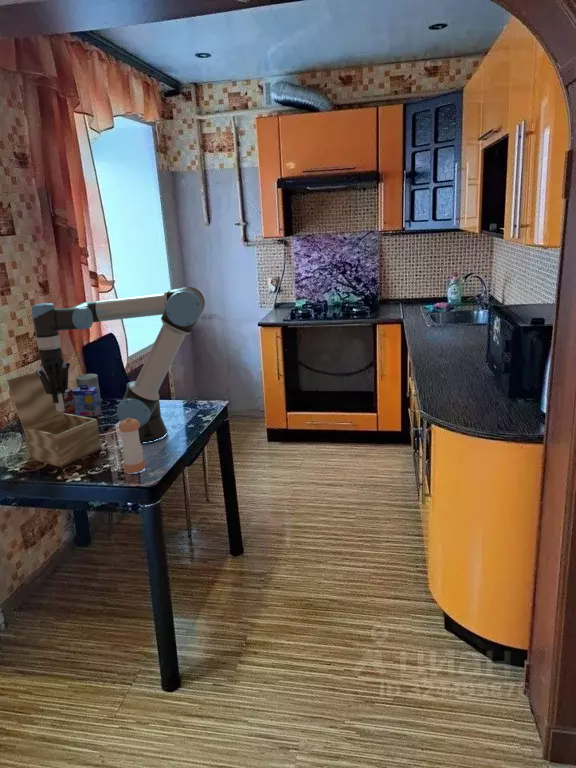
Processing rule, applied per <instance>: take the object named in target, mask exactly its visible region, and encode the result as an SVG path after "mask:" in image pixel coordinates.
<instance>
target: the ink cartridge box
mask: <svg viewBox="0 0 576 768" xmlns="http://www.w3.org/2000/svg"><path fill="white" fill-rule="evenodd" d="M79 386H80V388H78V387H76V388H75V389H72V392H73V398H74V405H75V412H76V415H77V416H82V417H98V416H99V415H100V414H101V413H102V407H101V403H100V400H99V393H98V388H97V387H88V386H87V385H79ZM81 386H86V387H81Z"/></svg>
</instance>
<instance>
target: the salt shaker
mask: <svg viewBox="0 0 576 768" xmlns="http://www.w3.org/2000/svg"><path fill="white" fill-rule="evenodd" d="M139 427H140V423H139V421H138V420H136V419H131V418H127V419H126V420H123V421H120V422H119V423H118V430H119V431H120V432H121V437H122V457H123V459H122V460H123V462H122V465H123V473H124V472H126V473H134V472H139V471H142V470H143V469H144V468H145V467H146V462H145V461H146V459H145V458H144V451H143V447H142V444H141V443H140V440H139V432H138V429H139Z"/></svg>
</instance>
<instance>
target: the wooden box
mask: <svg viewBox="0 0 576 768" xmlns="http://www.w3.org/2000/svg"><path fill="white" fill-rule="evenodd" d="M22 428H23V427H22ZM23 432H24V437H25V438H24V440H25V444H26V451H27V455H28V459H29V460H32V459H33V461H37V462H41V463H44V464H48V465H51V466H57V467H59V468H63V467H66V466H67V465H70V464H72V463H74V462H77V461H79V460H81V459H83V458H85V457H87V456H90V455H92V454H93V453H96V452H98V451H101V450H102V446H101V445H102V444H101V439H100V437H101V436H100V431H99V423H98V419H97V418H92V417H89V416H77V415H72V414H67V413H63V414H60V415H58V416H54V417H51V418H48V419H45V420H43V421H40V422H37V423H35V424H32V425H29V426H27V427H24V428H23Z"/></svg>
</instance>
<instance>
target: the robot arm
mask: <svg viewBox="0 0 576 768" xmlns="http://www.w3.org/2000/svg"><path fill="white" fill-rule="evenodd" d="M205 302H206V301H205V297H204V296H203V293H202V292H201V291H200V290H199V289H197V288H196V287H192V286H184V287H180V288H175V289H170V290H169V289H168V290H166V291H165V292H164V293H159V294H151V295H150V294H149V295H143V296H134V297H124V298H115V299H106V300H97V301H82V302H80V303H79V304H77V305H75V306H73V307H68V308H67V307H66V308H56V307H55V305H54V303H52V302H45V303H43V302H42V303H37V304H36V303H35V304H33V305H32V306H31V316H32V318H31V319H32V321H33V326H34V331H35V339H36V343H37V348H38V355H39V359H40V361H41V362H40V368H39V369H37V370H35V372H36V373H37V375H38V376H39V377H40V379H41V382H42V384H43V386H44V389H45V391H46V393H47V394H51V395H52V398H53V402H54V403H55V405H56V411H60V412H62V411H65V409H64V403H63V401H64V393H65V390H67V389H69V370H70V366H71V364H70V363H69V362H66V361H64V359H63V350H62V347H61V345H62V343H61V340H60V339H61V337H60V333H59V331H65V330H66V331H68V330H73V331H74V330H85V329H90V328H92V326H93V323H99V322H108V321H117V320H126V319H134V318H144V317H151V316H152V317H154V316H161V318H160V320H161V323H162V326H161V327H160V330H159V332H158V334H157V337H156V338H155V340H154V343H153V344H152V347H151V349H150V351H149V353H148V355H147V357H146V360H145V361H144V364H143V366H142V368H141V370H140V372H139V374H138V377H137V378H136V380H132V381H130V382H128V383H126V389H125V390H126V391H125V393H124V395H123V398H122V400H121V401H120V402H118V405H117V408H116V415H117V417H118V420H119V421H120V422H121V421H123V420H126V419H127V418H131V419H136V420H138V421H139V423H140V427H139V429H138V432H139V440H140V443H143V442H149V441H154V440H156V439H159V438H161V437H163V436H164V435H165V434H166V433H167V434H168V429H167V427H166V426H165V422H164V420H163V418H162V412H161V404H160V403H161V402H160V394H159V390H160V389H161V386H162V384H163V382H164V380H165V378H166V376H167V373H168V372H169V369H170V368H171V365H172V363H173V362H174V359H175V357H176V356H177V353H178V351H179V350H180V347H181V345H182V343H183V341H184V339H185V336H187V335H191V334H192V332H193V330H194V328H195V327H196V324H197V322H198V320H199V318H200V317H201V315H202V313H203V311H204V309H205V305H206V303H205ZM44 370H45V371H46V372H45V371H44ZM45 373H46V374H47V376H48V378H47V376H46V374H45ZM48 380H49V381H48Z"/></svg>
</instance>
